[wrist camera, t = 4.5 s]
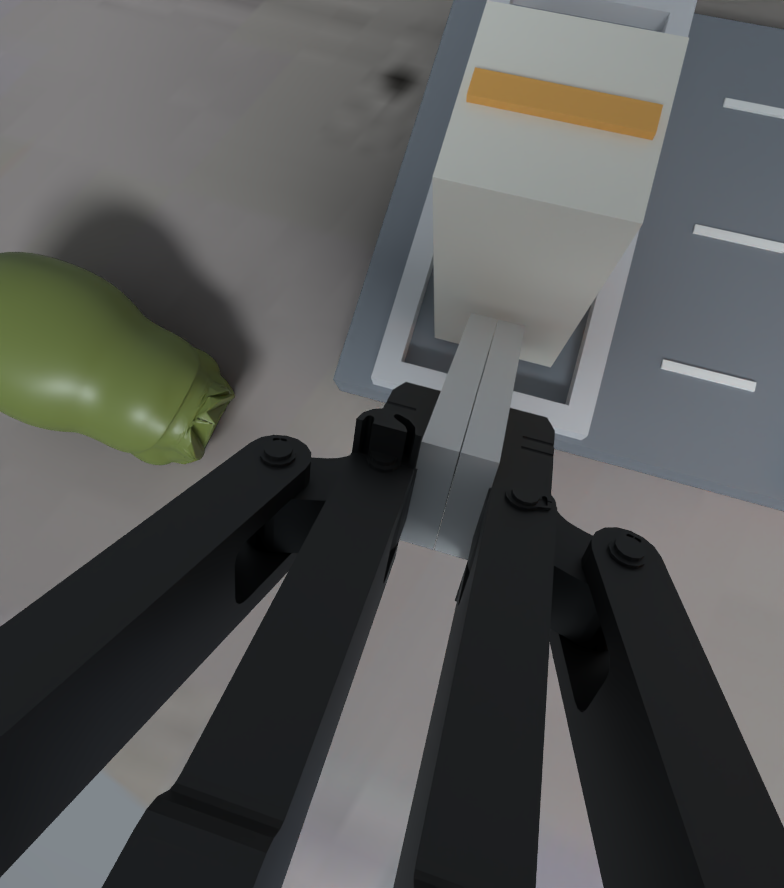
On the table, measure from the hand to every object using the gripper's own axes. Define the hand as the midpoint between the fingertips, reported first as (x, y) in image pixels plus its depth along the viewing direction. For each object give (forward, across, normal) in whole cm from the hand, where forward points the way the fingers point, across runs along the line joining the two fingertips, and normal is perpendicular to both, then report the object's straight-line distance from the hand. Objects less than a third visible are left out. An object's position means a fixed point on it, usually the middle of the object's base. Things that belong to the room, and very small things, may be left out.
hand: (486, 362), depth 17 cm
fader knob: (+4, 0, 0) cm, 4 cm away
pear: (+1, -13, -5) cm, 14 cm away
